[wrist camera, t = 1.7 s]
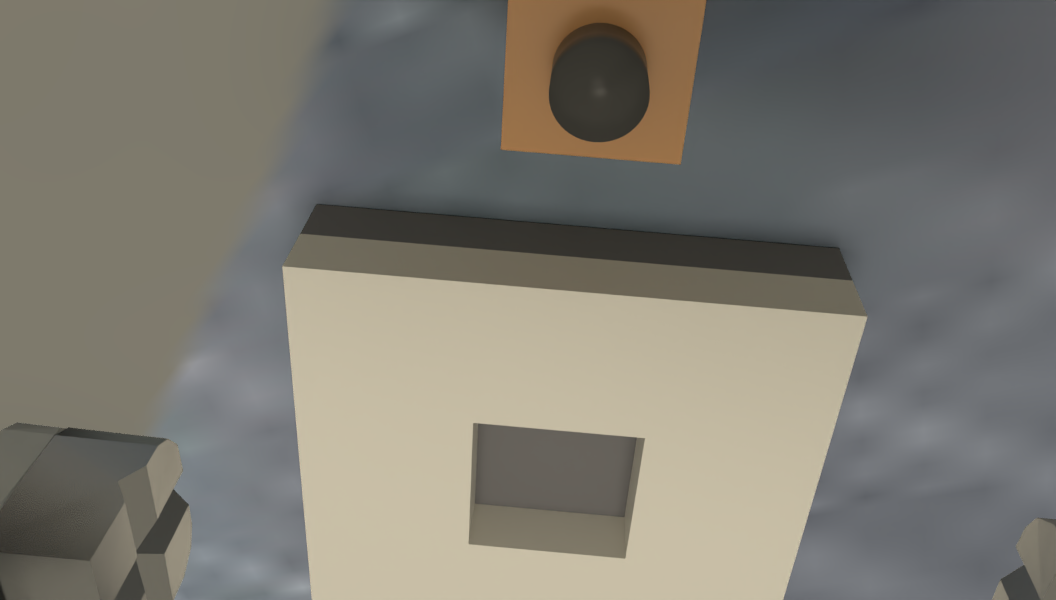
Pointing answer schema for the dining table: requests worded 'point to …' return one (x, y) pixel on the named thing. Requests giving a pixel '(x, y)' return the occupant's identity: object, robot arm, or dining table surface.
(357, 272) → the socket block
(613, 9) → the plug
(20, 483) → the robot arm
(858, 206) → the dining table surface
